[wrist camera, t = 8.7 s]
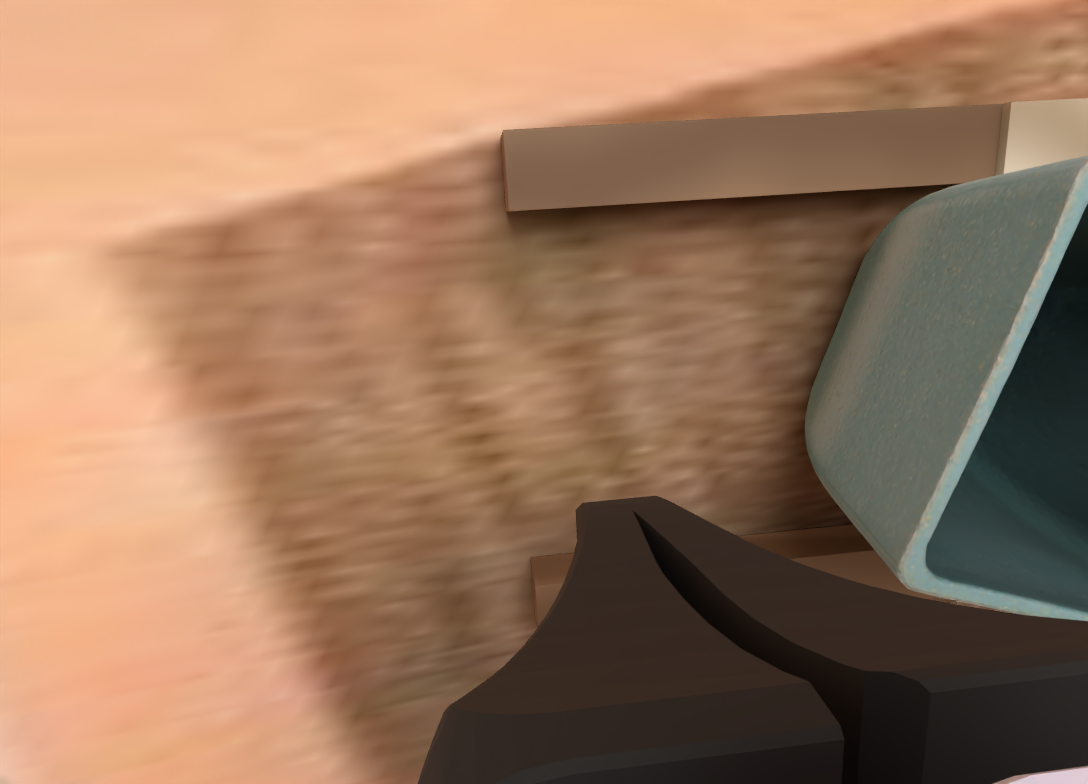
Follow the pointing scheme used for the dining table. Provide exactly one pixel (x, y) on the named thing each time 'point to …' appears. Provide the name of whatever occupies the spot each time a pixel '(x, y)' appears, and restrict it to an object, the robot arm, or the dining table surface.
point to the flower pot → (969, 394)
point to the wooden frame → (773, 169)
